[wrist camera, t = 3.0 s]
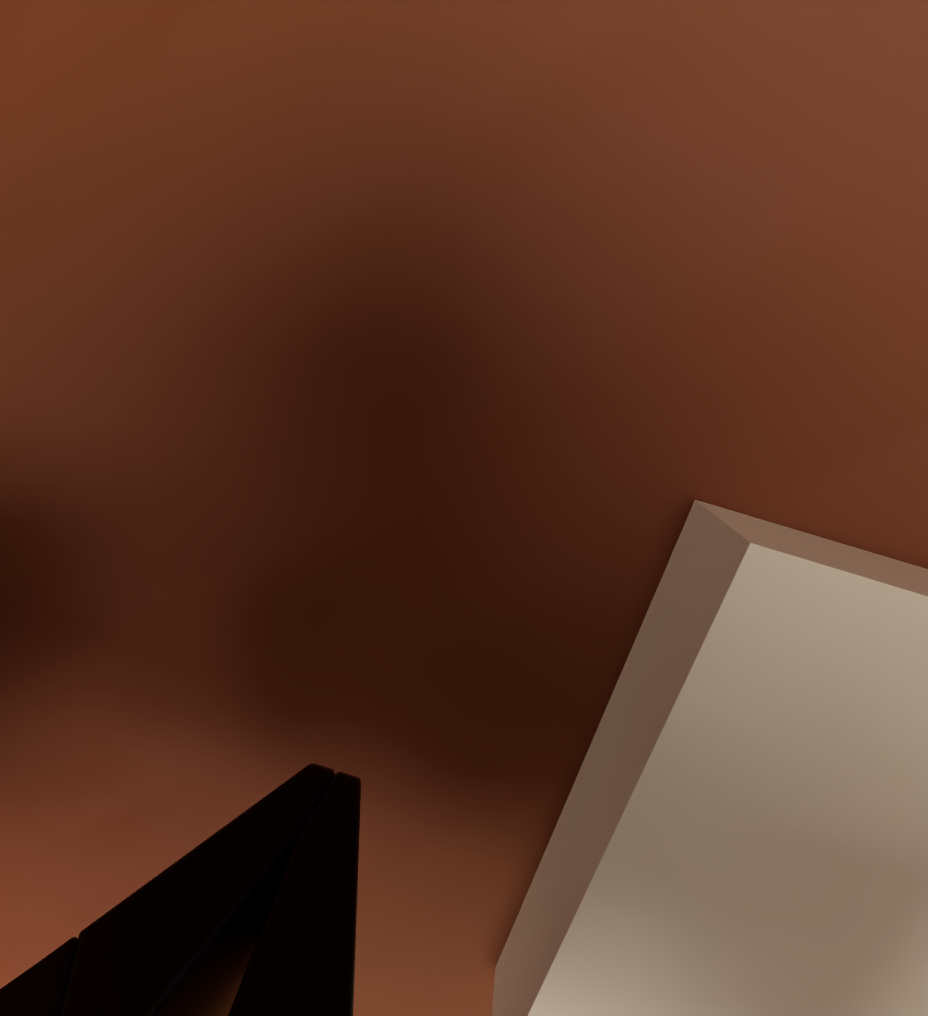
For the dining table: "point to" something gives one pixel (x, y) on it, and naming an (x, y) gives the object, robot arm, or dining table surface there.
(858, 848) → the door panel
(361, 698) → the dining table surface
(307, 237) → the dining table surface
